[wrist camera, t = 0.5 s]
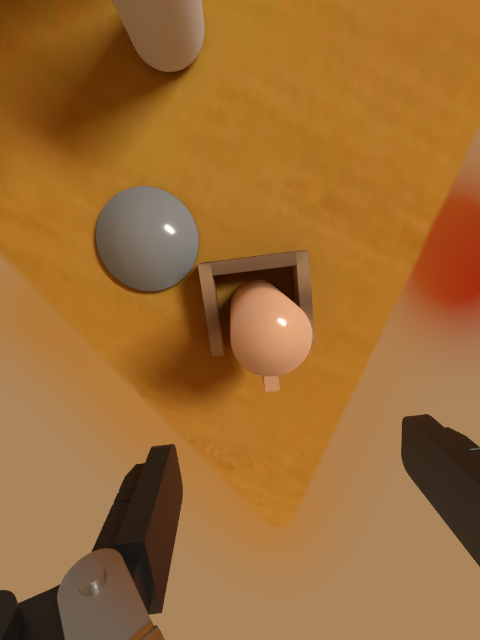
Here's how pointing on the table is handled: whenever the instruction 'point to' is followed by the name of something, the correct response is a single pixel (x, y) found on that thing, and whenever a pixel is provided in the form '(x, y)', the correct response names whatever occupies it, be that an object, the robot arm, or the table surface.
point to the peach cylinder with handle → (268, 331)
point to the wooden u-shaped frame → (293, 259)
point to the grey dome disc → (147, 238)
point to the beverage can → (164, 30)
